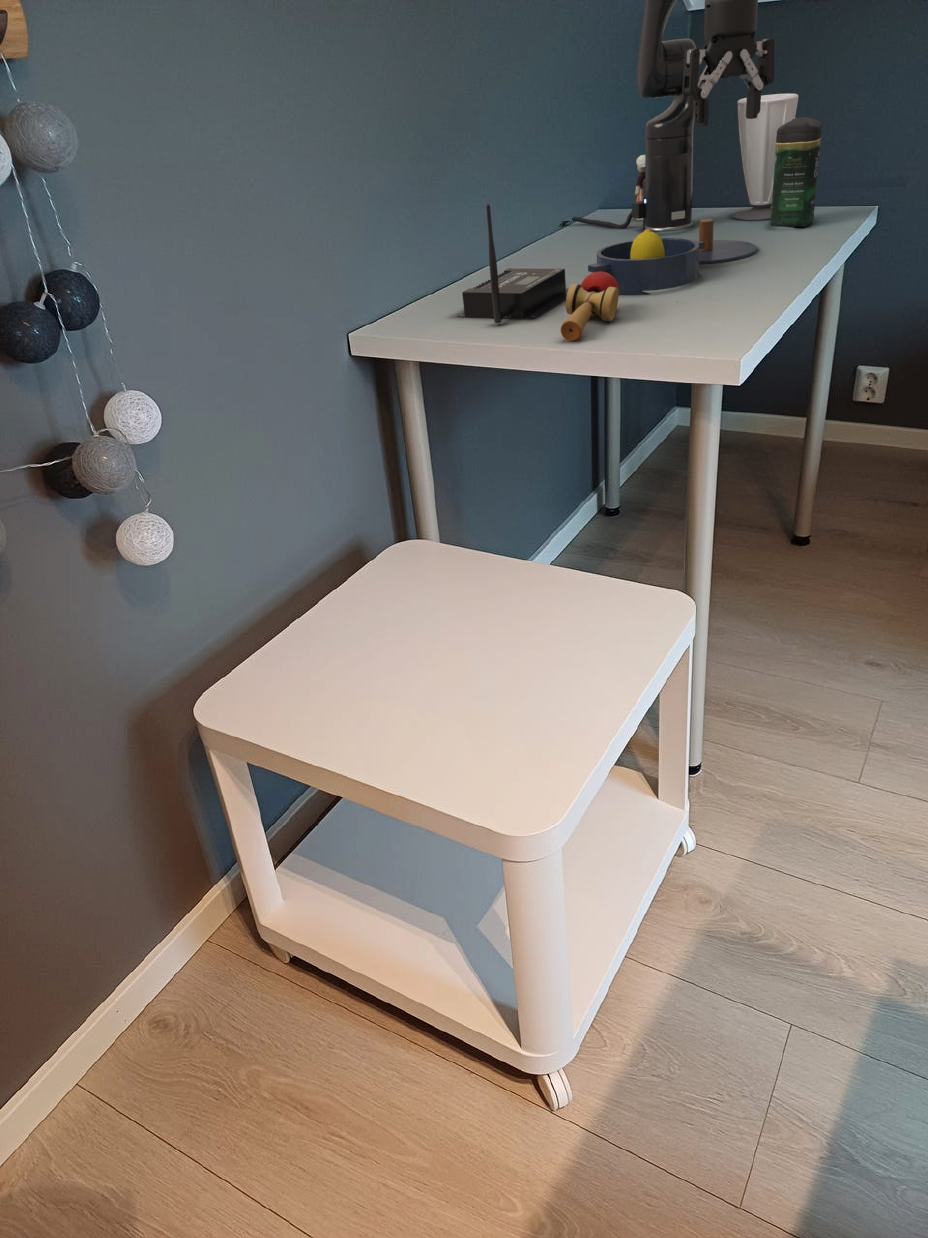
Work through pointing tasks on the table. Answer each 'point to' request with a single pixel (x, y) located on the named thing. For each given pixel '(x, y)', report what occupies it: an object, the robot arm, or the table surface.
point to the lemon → (647, 246)
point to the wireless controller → (514, 290)
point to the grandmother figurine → (640, 179)
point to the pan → (650, 266)
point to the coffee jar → (795, 172)
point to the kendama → (590, 302)
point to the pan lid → (721, 246)
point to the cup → (762, 150)
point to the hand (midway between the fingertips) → (726, 122)
